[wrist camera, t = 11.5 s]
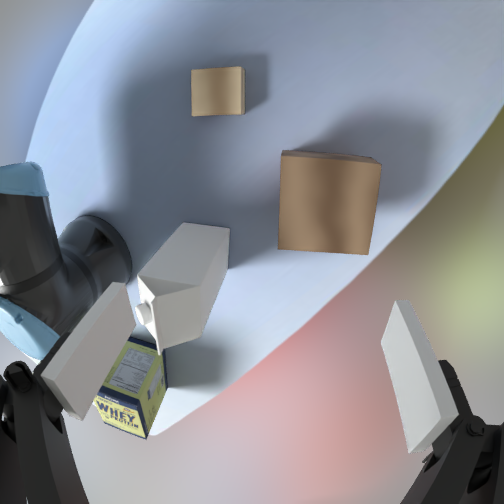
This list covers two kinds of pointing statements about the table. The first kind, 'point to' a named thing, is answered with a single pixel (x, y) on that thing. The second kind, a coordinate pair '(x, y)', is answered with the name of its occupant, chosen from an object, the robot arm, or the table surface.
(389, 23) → the table surface
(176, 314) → the milk carton
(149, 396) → the protein box
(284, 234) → the brown box
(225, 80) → the stand
